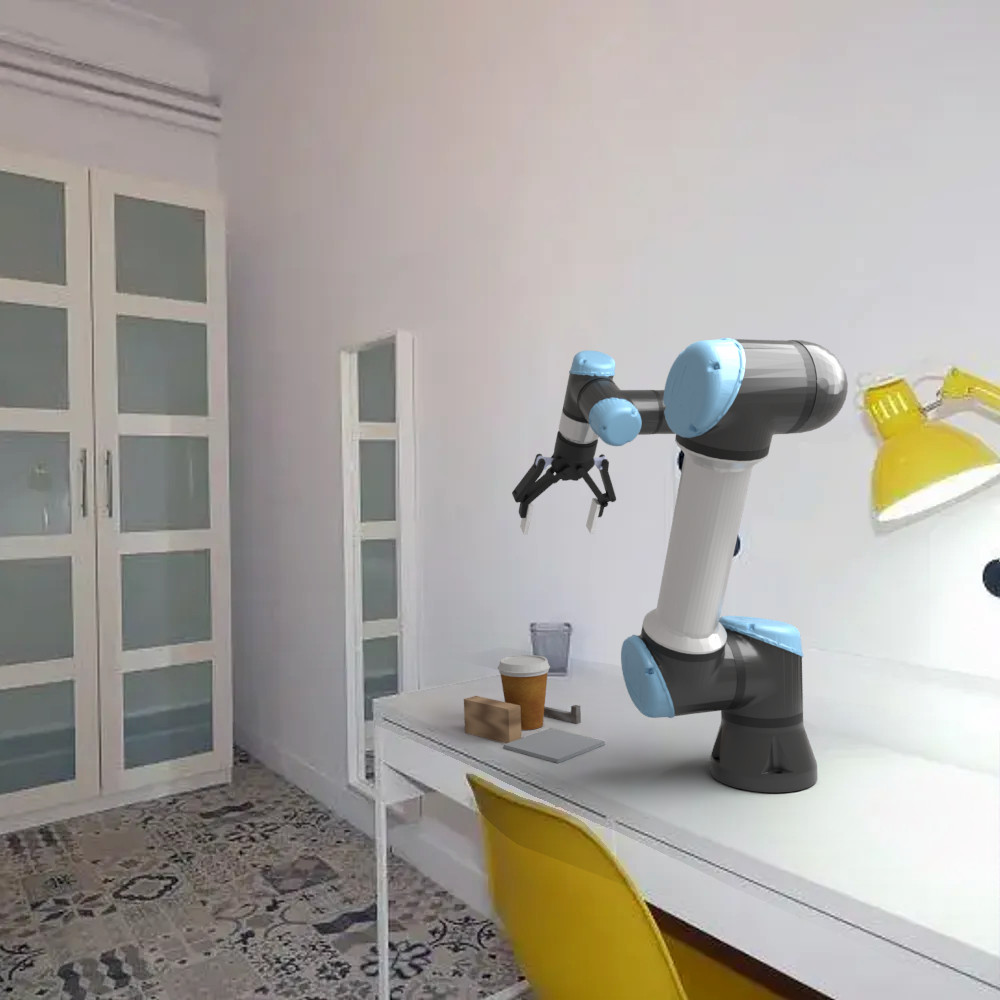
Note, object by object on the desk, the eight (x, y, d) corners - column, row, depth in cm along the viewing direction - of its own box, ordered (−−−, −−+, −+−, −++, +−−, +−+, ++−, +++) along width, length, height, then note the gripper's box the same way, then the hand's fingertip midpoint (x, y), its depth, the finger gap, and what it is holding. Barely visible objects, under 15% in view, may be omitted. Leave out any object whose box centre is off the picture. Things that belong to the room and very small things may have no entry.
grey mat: (604, 744, 144) (604, 740, 144) (558, 763, 136) (557, 759, 136) (550, 731, 153) (550, 727, 153) (503, 748, 144) (503, 744, 144)
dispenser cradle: (580, 722, 158) (579, 689, 158) (514, 746, 145) (513, 710, 145) (526, 710, 167) (525, 679, 167) (460, 731, 155) (459, 698, 154)
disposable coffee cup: (552, 717, 161) (550, 653, 161) (550, 733, 152) (548, 665, 151) (502, 718, 162) (500, 654, 162) (497, 733, 153) (494, 665, 152)
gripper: (634, 425, 163) (610, 518, 174) (507, 423, 156) (491, 519, 168) (648, 445, 157) (623, 540, 168) (517, 443, 150) (499, 542, 162)
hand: (557, 530), depth 168 cm, fingers open, 13 cm apart
